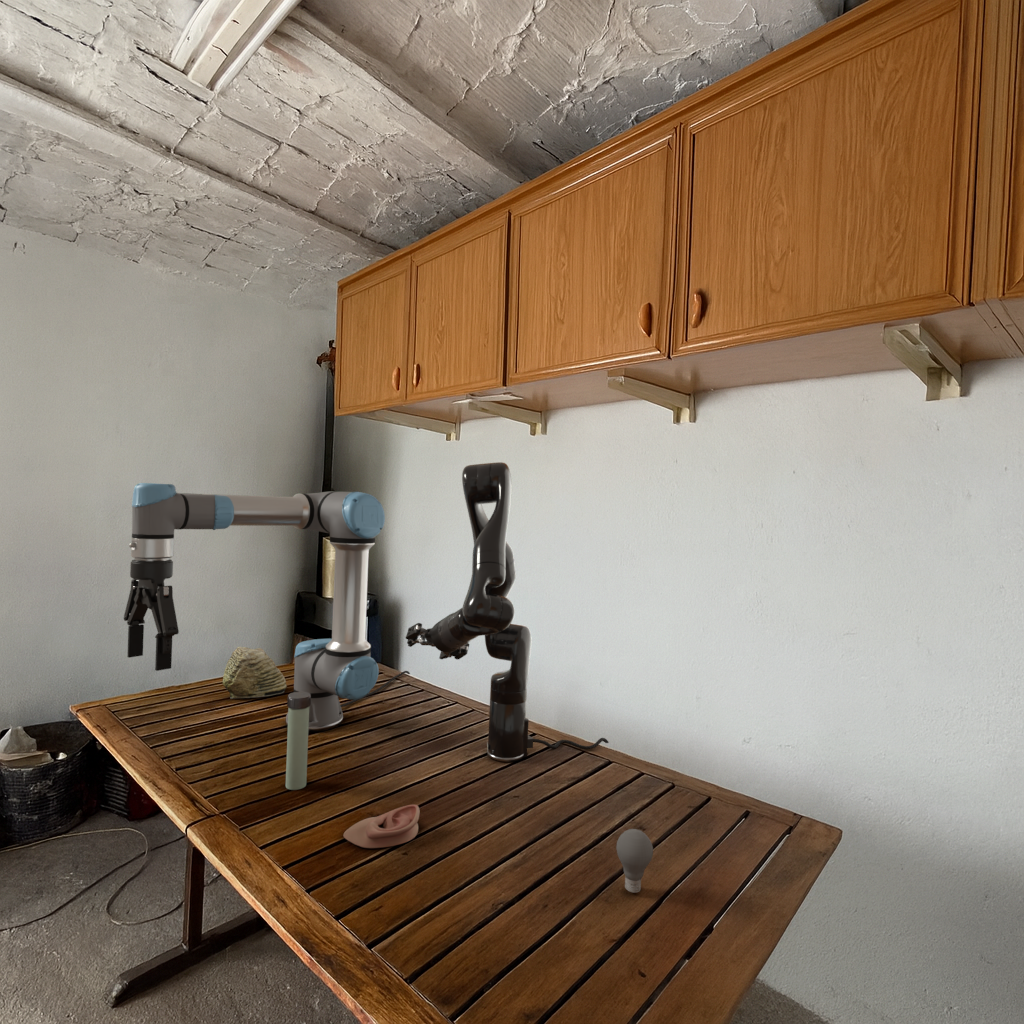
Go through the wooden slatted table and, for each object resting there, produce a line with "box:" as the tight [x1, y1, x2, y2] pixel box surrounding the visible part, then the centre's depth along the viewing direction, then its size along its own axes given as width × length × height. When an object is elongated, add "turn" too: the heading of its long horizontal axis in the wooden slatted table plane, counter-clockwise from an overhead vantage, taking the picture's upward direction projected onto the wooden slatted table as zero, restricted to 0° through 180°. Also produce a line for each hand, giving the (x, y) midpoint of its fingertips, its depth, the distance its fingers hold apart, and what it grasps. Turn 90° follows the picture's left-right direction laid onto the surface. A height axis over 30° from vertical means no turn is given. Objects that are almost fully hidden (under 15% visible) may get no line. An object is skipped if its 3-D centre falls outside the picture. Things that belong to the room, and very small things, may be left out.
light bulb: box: [615, 828, 654, 894], centre depth 106 cm, size 6×6×10 cm
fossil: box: [222, 646, 288, 699], centre depth 198 cm, size 9×18×15 cm, turn 132°
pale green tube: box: [285, 706, 309, 791], centre depth 138 cm, size 4×4×20 cm
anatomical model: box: [342, 804, 421, 849], centre depth 120 cm, size 13×4×12 cm
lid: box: [286, 691, 311, 709], centre depth 138 cm, size 5×5×2 cm
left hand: (148, 662), depth 129 cm, fingers open, 13 cm apart
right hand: (425, 649), depth 154 cm, fingers open, 8 cm apart
